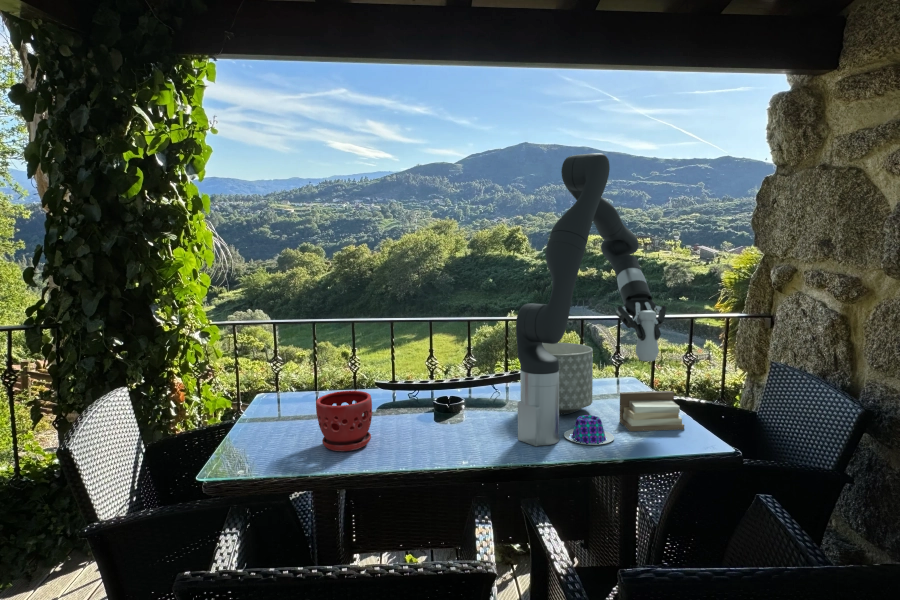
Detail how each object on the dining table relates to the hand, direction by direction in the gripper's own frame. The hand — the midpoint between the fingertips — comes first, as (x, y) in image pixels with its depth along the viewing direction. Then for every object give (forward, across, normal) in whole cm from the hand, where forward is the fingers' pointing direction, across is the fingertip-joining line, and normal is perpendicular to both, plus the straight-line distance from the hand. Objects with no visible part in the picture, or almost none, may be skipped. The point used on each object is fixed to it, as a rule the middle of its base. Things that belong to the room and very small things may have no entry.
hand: (650, 338), depth 143 cm
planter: (+6, -20, +27) cm, 34 cm away
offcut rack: (+17, 0, +15) cm, 23 cm away
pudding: (+22, -18, +10) cm, 31 cm away
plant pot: (+22, -78, +10) cm, 82 cm away
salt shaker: (+3, 0, +6) cm, 6 cm away
